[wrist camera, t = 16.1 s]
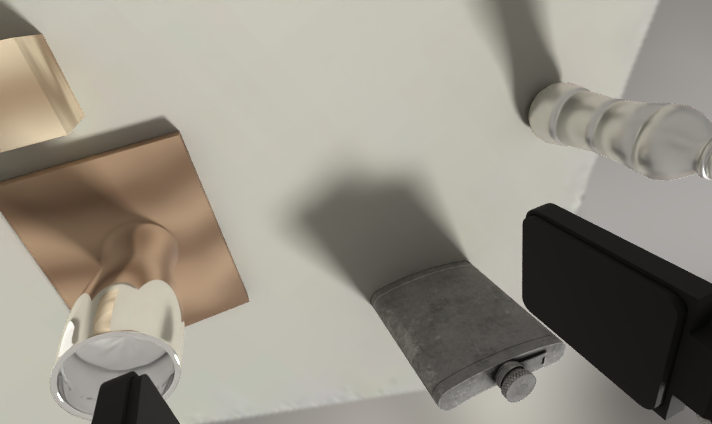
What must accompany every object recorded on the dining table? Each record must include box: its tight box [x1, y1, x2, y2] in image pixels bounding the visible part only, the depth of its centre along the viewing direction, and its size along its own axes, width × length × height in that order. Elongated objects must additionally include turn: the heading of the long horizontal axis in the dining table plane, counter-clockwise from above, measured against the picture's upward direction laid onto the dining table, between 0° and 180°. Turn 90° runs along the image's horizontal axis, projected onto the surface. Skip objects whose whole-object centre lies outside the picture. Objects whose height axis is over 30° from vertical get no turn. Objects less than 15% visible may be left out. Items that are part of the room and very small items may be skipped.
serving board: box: [0, 131, 249, 327], centre depth 37 cm, size 18×14×2 cm
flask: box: [371, 261, 566, 411], centre depth 44 cm, size 4×14×18 cm, turn 97°
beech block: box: [0, 34, 85, 153], centre depth 27 cm, size 6×6×6 cm
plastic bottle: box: [529, 83, 712, 181], centre depth 39 cm, size 6×7×20 cm
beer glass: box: [50, 222, 185, 421], centre depth 30 cm, size 7×7×15 cm
